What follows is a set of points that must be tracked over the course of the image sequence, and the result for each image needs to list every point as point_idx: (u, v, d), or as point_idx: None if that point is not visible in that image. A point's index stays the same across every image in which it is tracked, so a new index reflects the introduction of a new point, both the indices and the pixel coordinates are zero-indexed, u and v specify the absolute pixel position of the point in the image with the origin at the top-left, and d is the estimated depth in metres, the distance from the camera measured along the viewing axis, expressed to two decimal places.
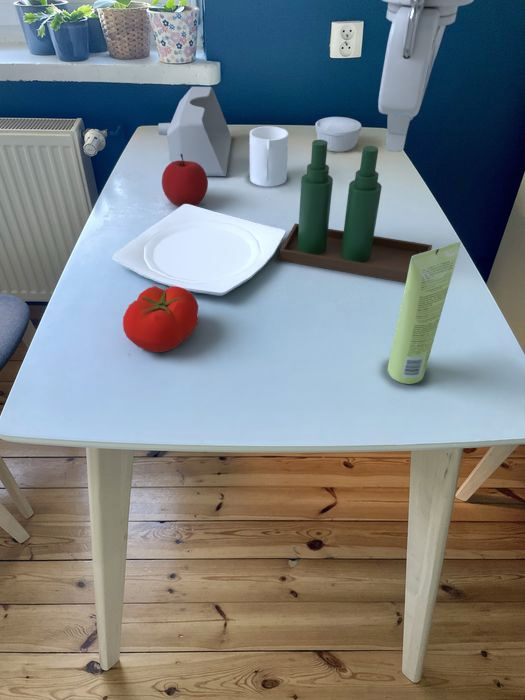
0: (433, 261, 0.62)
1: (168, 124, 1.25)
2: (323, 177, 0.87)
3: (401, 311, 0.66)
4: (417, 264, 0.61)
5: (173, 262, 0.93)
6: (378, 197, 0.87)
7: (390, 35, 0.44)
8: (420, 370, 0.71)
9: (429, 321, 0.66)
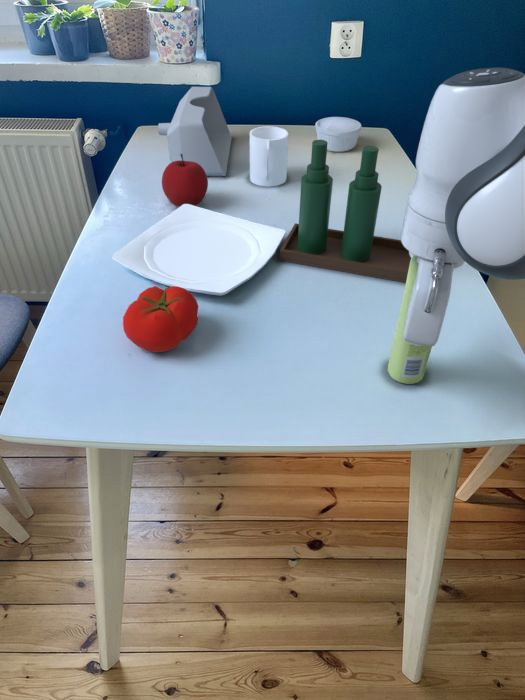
0: None
1: (168, 124, 1.25)
2: (323, 177, 0.87)
3: (401, 311, 0.66)
4: (417, 264, 0.61)
5: (173, 262, 0.93)
6: (378, 197, 0.87)
7: (414, 295, 0.55)
8: (420, 370, 0.71)
9: None
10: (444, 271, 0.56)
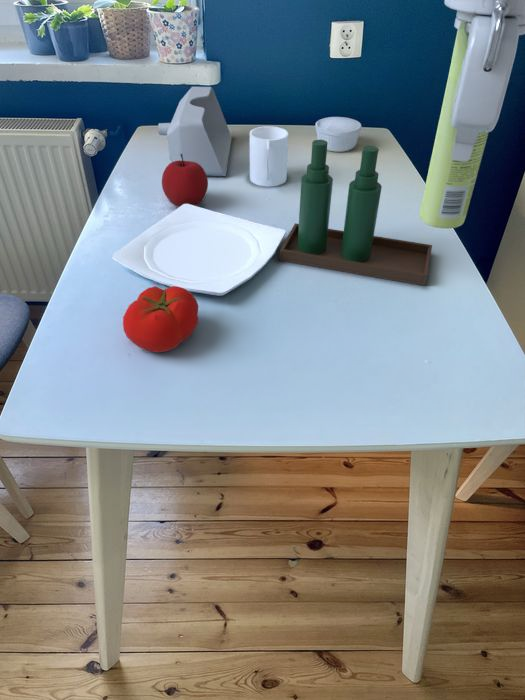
0: None
1: (168, 124, 1.25)
2: (323, 177, 0.87)
3: (441, 119, 0.52)
4: (466, 36, 0.47)
5: (173, 262, 0.93)
6: (378, 197, 0.87)
7: (470, 47, 0.41)
8: (461, 207, 0.57)
9: None
10: (508, 21, 0.43)
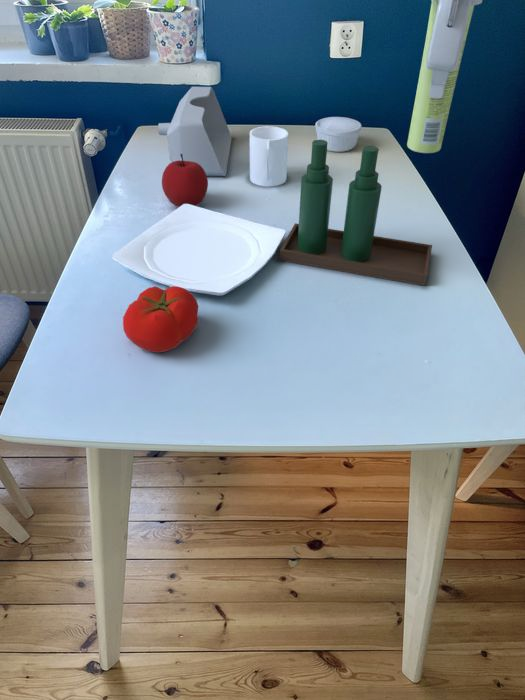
0: None
1: (168, 124, 1.25)
2: (323, 177, 0.87)
3: (421, 67, 0.72)
4: None
5: (173, 262, 0.93)
6: (378, 197, 0.87)
7: (438, 10, 0.62)
8: (438, 136, 0.77)
9: None
10: None
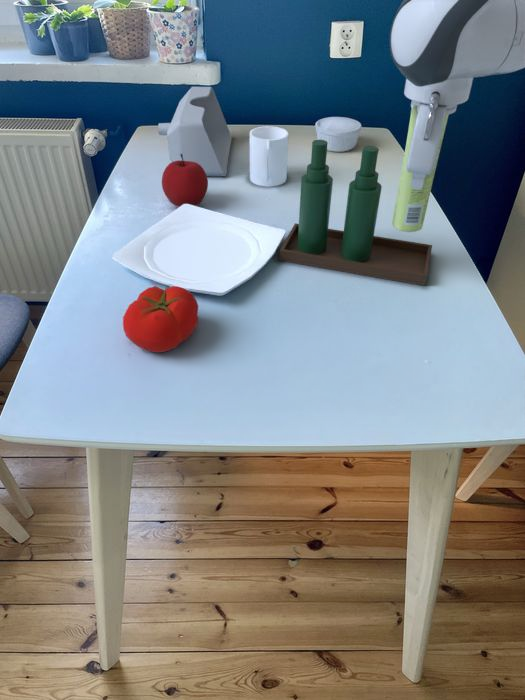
0: None
1: (168, 124, 1.25)
2: (323, 177, 0.87)
3: (404, 161, 0.81)
4: (417, 113, 0.76)
5: (173, 262, 0.93)
6: (378, 197, 0.87)
7: (415, 126, 0.70)
8: (419, 218, 0.86)
9: None
10: (439, 109, 0.71)
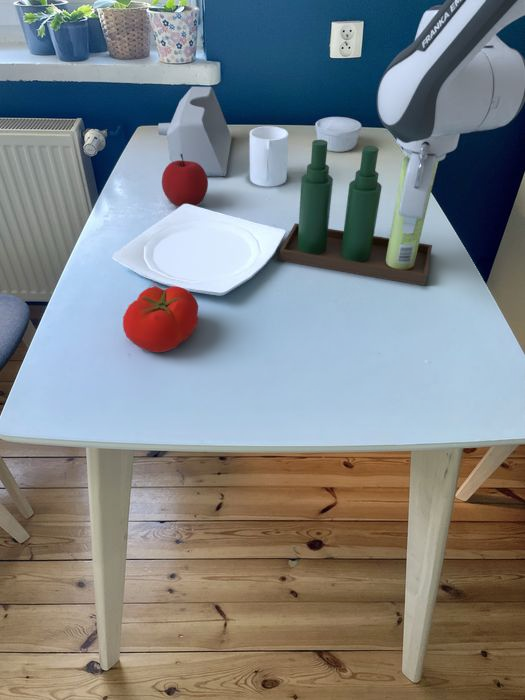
0: None
1: (168, 124, 1.25)
2: (323, 177, 0.87)
3: (396, 205, 0.86)
4: (407, 163, 0.80)
5: (173, 262, 0.93)
6: (378, 197, 0.87)
7: (406, 175, 0.75)
8: (411, 257, 0.90)
9: None
10: (428, 159, 0.76)
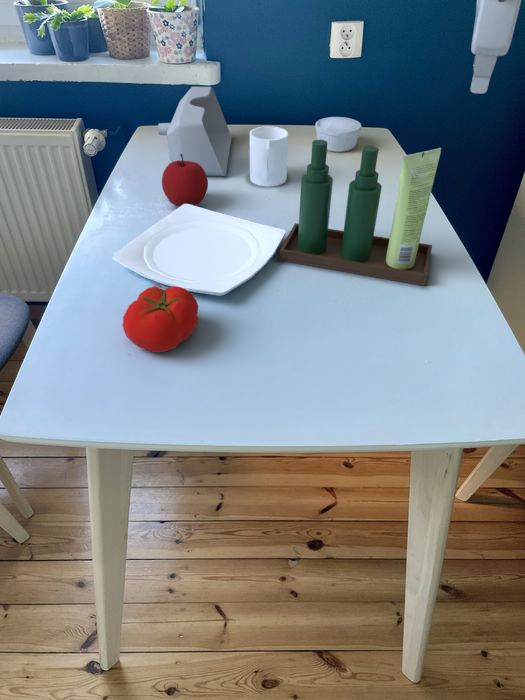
0: (420, 162, 0.82)
1: (168, 124, 1.25)
2: (323, 177, 0.87)
3: (396, 205, 0.86)
4: (408, 163, 0.80)
5: (173, 262, 0.93)
6: (378, 197, 0.87)
7: None
8: (411, 257, 0.90)
9: (418, 213, 0.86)
10: None
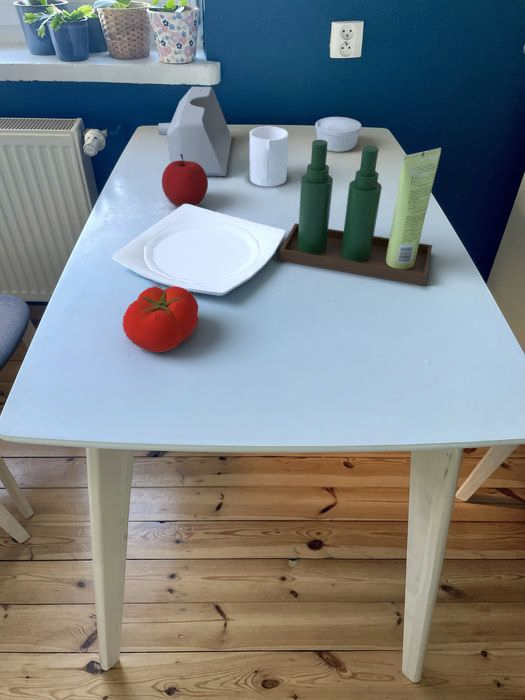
0: (420, 162, 0.82)
1: (168, 124, 1.25)
2: (323, 177, 0.87)
3: (396, 205, 0.86)
4: (408, 163, 0.80)
5: (173, 262, 0.93)
6: (378, 197, 0.87)
7: None
8: (411, 257, 0.90)
9: (418, 213, 0.86)
10: None
